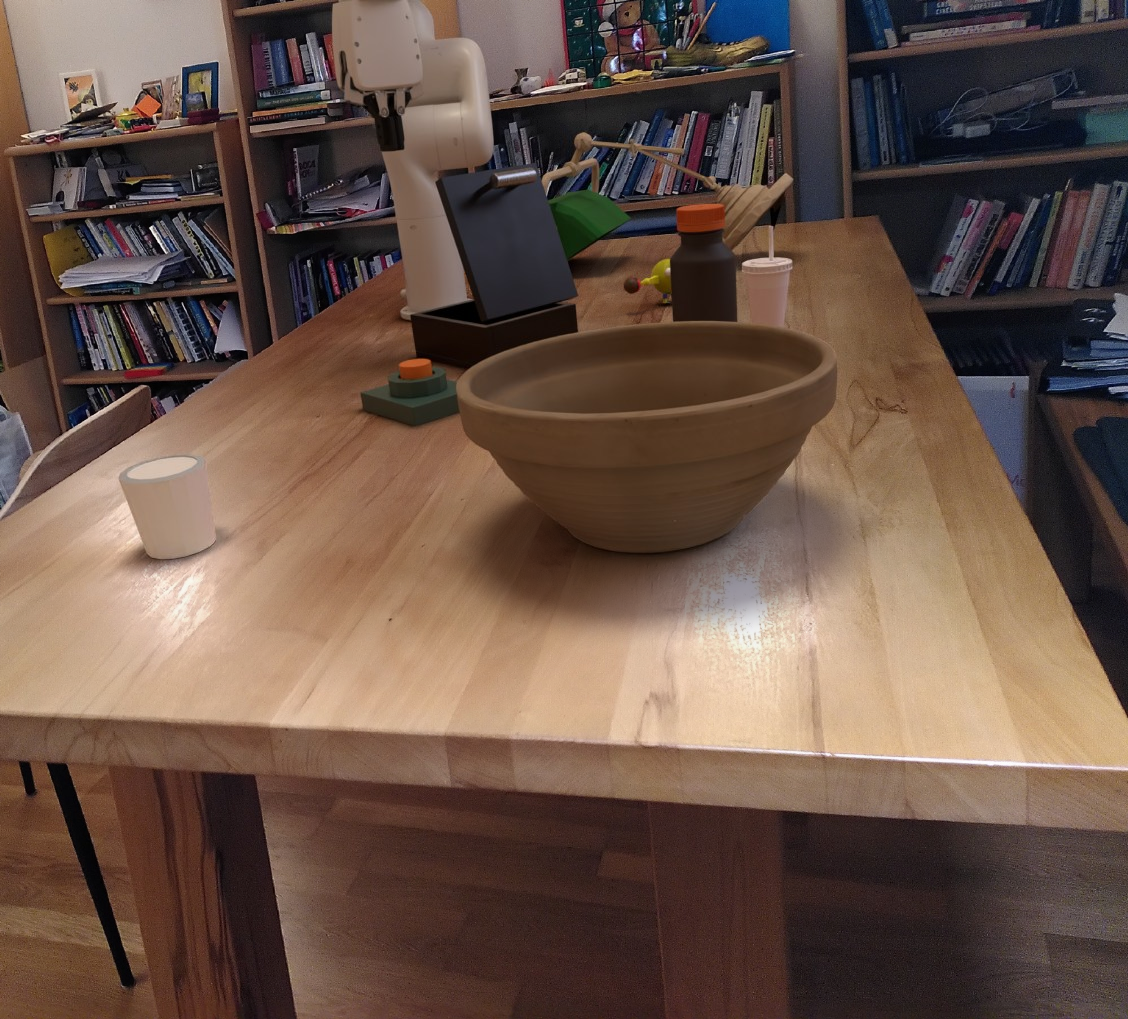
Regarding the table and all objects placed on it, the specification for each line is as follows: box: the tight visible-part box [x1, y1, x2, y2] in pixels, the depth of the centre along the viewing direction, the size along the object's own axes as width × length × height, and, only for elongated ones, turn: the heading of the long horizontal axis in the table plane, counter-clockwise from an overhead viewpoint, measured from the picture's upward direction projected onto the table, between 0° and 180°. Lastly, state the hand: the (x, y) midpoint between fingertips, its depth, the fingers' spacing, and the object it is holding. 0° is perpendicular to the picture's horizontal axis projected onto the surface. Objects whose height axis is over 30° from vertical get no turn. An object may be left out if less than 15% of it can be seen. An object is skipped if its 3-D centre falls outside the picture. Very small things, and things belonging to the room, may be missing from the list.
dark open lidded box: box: [410, 298, 579, 370], centre depth 140 cm, size 17×15×6 cm
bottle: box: [669, 203, 739, 322], centre depth 110 cm, size 7×7×20 cm
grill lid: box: [435, 162, 579, 322], centre depth 130 cm, size 18×15×6 cm
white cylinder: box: [117, 453, 217, 560], centre depth 86 cm, size 7×7×7 cm
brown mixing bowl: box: [456, 321, 838, 554], centre depth 81 cm, size 28×28×13 cm
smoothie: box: [741, 225, 793, 328], centre depth 133 cm, size 6×6×14 cm
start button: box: [398, 358, 433, 380], centre depth 118 cm, size 4×4×2 cm
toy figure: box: [623, 258, 672, 306], centre depth 160 cm, size 18×6×7 cm, turn 131°
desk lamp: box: [541, 132, 794, 262], centre depth 191 cm, size 35×42×39 cm
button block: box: [359, 366, 460, 427], centre depth 119 cm, size 11×9×4 cm
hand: (392, 150), depth 131 cm, fingers closed
